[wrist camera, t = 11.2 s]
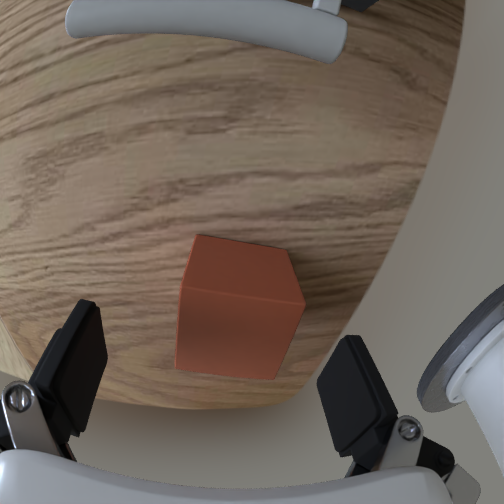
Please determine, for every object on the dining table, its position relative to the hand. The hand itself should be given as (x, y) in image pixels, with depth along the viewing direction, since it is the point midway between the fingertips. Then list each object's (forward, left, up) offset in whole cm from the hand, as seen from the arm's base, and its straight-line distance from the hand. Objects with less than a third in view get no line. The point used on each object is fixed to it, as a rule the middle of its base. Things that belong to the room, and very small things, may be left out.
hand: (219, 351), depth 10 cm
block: (-1, 0, -5) cm, 5 cm away
